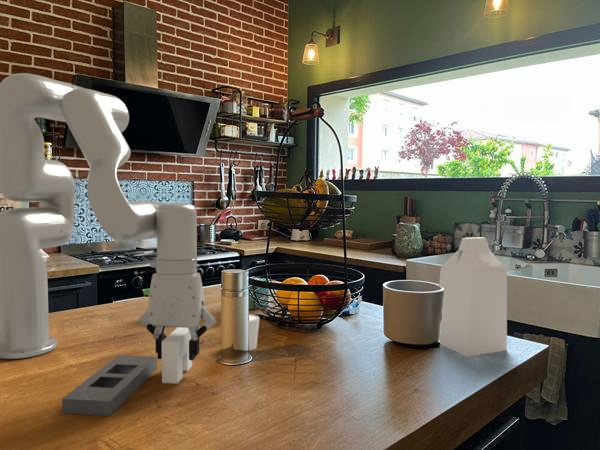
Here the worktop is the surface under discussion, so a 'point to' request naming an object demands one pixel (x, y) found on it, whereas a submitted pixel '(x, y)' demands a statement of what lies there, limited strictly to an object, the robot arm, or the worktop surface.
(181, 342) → the clip
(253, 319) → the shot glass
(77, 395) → the grey slotted base
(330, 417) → the worktop surface
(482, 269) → the milk
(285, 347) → the worktop surface
